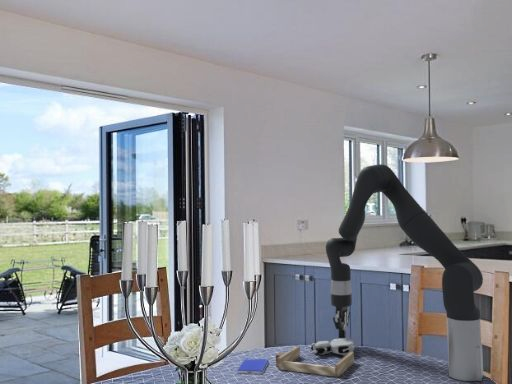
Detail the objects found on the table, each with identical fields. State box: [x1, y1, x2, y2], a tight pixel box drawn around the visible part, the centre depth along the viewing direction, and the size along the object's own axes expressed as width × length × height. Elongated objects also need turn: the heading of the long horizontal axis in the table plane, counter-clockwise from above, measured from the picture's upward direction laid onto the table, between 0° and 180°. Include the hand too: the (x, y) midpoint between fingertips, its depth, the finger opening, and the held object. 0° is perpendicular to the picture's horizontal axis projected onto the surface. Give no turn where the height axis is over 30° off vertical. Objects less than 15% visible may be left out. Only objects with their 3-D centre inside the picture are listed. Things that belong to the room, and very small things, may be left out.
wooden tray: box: [275, 345, 355, 378], centre depth 172 cm, size 22×16×4 cm
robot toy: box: [310, 337, 356, 357], centre depth 185 cm, size 12×4×15 cm
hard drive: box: [236, 358, 270, 375], centre depth 171 cm, size 2×8×12 cm
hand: (342, 340), depth 195 cm, fingers closed
